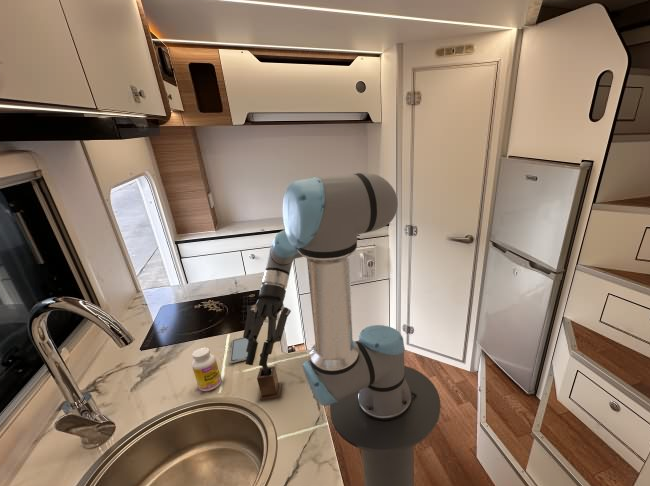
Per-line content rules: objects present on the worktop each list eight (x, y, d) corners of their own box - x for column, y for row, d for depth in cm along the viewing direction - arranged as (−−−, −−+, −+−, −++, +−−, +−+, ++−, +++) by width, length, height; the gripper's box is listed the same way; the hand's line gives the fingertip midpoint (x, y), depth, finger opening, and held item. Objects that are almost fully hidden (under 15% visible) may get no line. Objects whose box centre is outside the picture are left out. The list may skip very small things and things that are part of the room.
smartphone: (252, 335, 126) (252, 356, 113) (253, 337, 126) (252, 358, 113) (232, 339, 124) (229, 362, 111) (233, 341, 124) (230, 364, 111)
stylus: (273, 387, 98) (265, 352, 93) (272, 391, 97) (264, 355, 92) (268, 388, 98) (260, 352, 93) (267, 392, 97) (259, 355, 92)
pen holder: (281, 384, 101) (277, 364, 98) (279, 397, 96) (274, 376, 93) (263, 387, 100) (258, 367, 97) (259, 400, 95) (254, 379, 92)
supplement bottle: (206, 395, 98) (195, 361, 93) (195, 387, 101) (183, 354, 96) (226, 381, 103) (217, 349, 98) (214, 374, 107) (204, 343, 102)
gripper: (303, 292, 100) (288, 369, 91) (256, 290, 103) (237, 364, 94) (293, 284, 93) (276, 366, 85) (243, 282, 96) (221, 361, 87)
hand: (255, 365), depth 89 cm, fingers open, 3 cm apart
